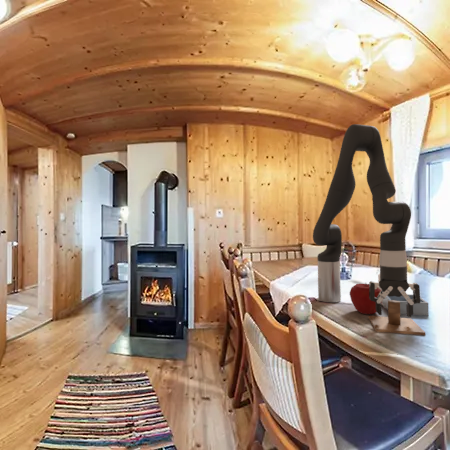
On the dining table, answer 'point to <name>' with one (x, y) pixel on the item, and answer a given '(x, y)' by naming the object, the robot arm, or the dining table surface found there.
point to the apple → (363, 298)
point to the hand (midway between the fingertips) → (394, 315)
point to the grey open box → (417, 308)
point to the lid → (395, 321)
